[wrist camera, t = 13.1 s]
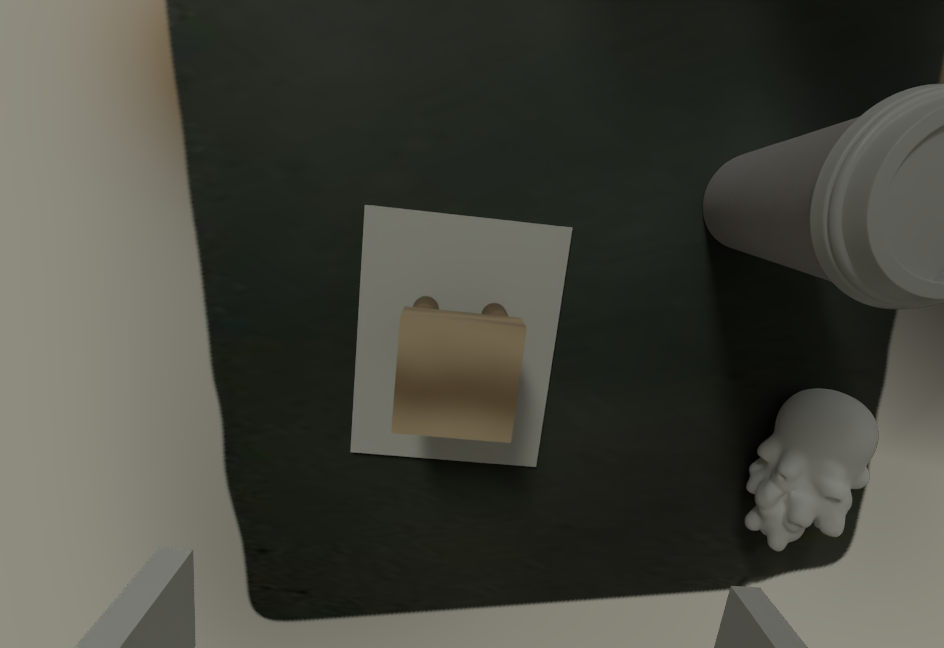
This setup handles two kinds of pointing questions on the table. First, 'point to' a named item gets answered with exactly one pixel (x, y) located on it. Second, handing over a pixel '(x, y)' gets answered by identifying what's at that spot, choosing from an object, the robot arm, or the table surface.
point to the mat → (454, 289)
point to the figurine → (811, 466)
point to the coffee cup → (847, 202)
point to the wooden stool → (457, 372)
